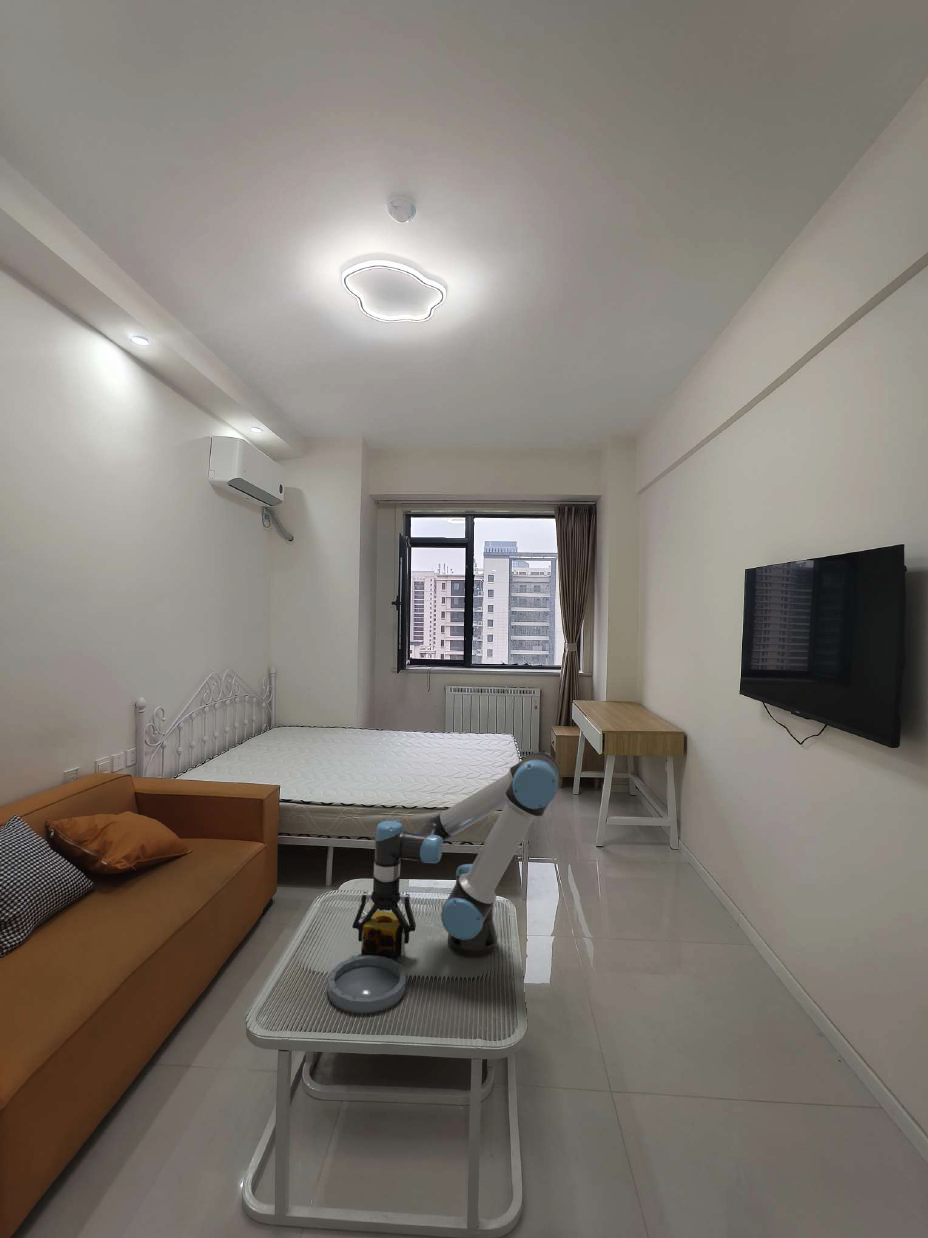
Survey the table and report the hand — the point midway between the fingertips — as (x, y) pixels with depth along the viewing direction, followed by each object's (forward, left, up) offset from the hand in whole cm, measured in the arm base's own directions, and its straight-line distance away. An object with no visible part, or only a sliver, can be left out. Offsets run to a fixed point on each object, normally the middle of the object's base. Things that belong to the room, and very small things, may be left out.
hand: (383, 953), depth 170 cm
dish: (+2, +16, 0) cm, 16 cm away
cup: (+6, -21, -1) cm, 22 cm away
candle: (0, 0, -1) cm, 1 cm away
